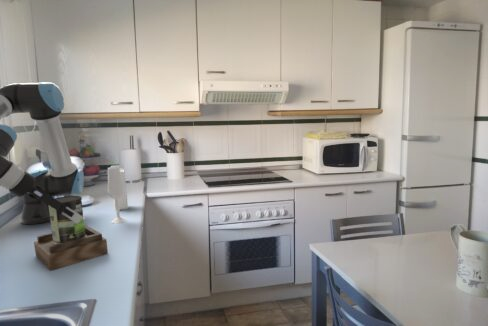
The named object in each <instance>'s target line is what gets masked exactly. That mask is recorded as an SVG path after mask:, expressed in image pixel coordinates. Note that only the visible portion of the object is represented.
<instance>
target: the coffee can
mask: <svg viewBox="0 0 488 326" xmlns="http://www.w3.org/2000/svg"><path fill="white" fill-rule="evenodd" d="M54 199H56V200H57V201H59V202H61V203H62V204H64V205H66V206H67V207H69V208H70V209H72V210H73V211H75V212H76V213H78V214H79V215H81V216H82V217H83V218H82V219H81V220H80V222H79V223H78V224H77V223H75V222H74V221H72V220H71V219H69V218H67V217H66V216H64V215H63V214H61V215H59V214H58V213H59V211H57V210H56V209H54V208H52V207H51V206H49V213H50V221H49V222H50V227H51V233H52V236H53V243H54V244H59V243H63V242H67V241H71V240H75V239H79V238H82V237H86V235H85V227H84V225H85V220H84V219H85V218H84V211H83V209H84V208H83V203H82V200H83V199H82V196H80V195H79V196H78V195H72V196H71V195H65V196H58V197H56V198H55V197H54ZM61 207H62V206H61ZM61 207H60V208H61ZM60 208H59V209H60Z"/></svg>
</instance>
